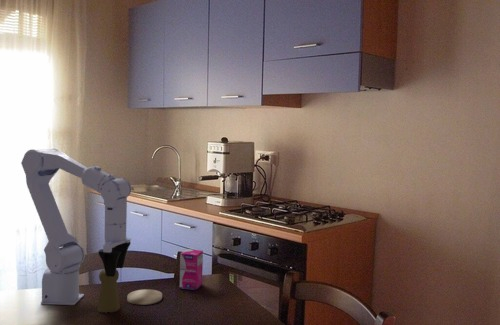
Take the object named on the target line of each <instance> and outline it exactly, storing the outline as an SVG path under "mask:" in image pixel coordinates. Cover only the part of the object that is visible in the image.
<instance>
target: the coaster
mask: <svg viewBox="0 0 500 325" xmlns="http://www.w3.org/2000/svg"><path fill="white" fill-rule="evenodd" d="M126 297H127V298H126V299H127V300H126V301H127V302H128V303H130V304H133V305H140V306H141V305H142V306H145V305H146V306H147V305H152V304H156V303H159V302H160V301H162V299H163V292H161V291H159V290H156V289H149V288H148V289H147V288H146V289H145V288H144V289H138V290H134V291H131V292H128V294H127V296H126Z"/></svg>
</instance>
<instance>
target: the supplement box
mask: <svg viewBox="0 0 500 325" xmlns="http://www.w3.org/2000/svg"><path fill="white" fill-rule="evenodd" d="M179 258H180V259H179V260H180V262H179V289H181V290H190V291H191V290H192V291H197V290H198V289H199V288H201V286H202V285H203V269H204V268H203V263H204V262H203V261H204V251H203V250H199V249H190V248H189V249H188V248H186V249H184V250H183V251H182V252H181V253H180V255H179Z"/></svg>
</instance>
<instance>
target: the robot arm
mask: <svg viewBox="0 0 500 325" xmlns="http://www.w3.org/2000/svg"><path fill="white" fill-rule="evenodd" d="M20 164H21V167H22V169H23V171H24V173H25V181H26V182H25V183H26V187H27V190H28V192H29V194H30V197H31V200H32V202H33V205H34V208H35V209H36V213H37V214H38V217H39V220H40V223H41V225H42V227H43V230H44V232H45V235H46V238H47V240H48V242H47V243H46V245H45V247H44V249H43V251H44V254H45V263H46V267H47V269H46V270H45V271H44V272H43V274H42V277H41V278H42V279H41V301H40V304H41V305H59V306H74V305H76V304H77V303H78V302H79V301H80V300H81V299H82V298H84V295H85V294H84V293H80V268H81V263H83V261H84V260H85V258H86V257H85V256H86V254H85V250H84V248H83V246H82V245H80V243H79V242H78V239H77V237H75V236H74V235H71V234H70V233H69V232H68V230H67V227H66V224H65V221H64V220H63V217H62V214H61V212H60V209H59V207H58V204H57V201H56V199H55V197H54V194H53V192H52V189H51V186H50V182H51V180H52V179H53V177H54V176H55V175H56V174H57V173H58V171H59V170H62V171H65V172H66V173H69V174H71V175H73V176H74V177H77V178H80V179H81V183H82V184H83V185H84V186H85V187H88V188H89V189H92V190H93V191H95V192H97V193H99V194H100V196H101V198H102V199H103V206H104V238H103V246H102V247H103V248H102V249H99V250H98V256H99V257H100V259H101V261H102V265H103V268H104V269H105V273H106V276H111V277H114V276H115V273H116V270H117V269H123V267H124V264H125V260H126V256H127V252H128V250H129V248H130V245H131V238H129V237H128V238H127V215H128V214H127V211H128V210H127V209H128V205H127V204H128V200H127V198H128V197H129V196H130V194H131V193H132V186H131V184H130V182H129V180H127V179H126V178H125V177H118V178H116V177H115V174H113V173H110V174H109V173H108V172H106V171H104V170H103V169H102V167H101V166H99V165H95V166H94V165H93V166H89V167H87V166H86V165H84V164H82V163H80V162H79V161H78V160H75V159H74V158H72V157H71V156H69V155H67V154H66V153H65V151H61V150H59V149H57V148H51V149H50V148H49V149H48V148H47V149H33V148H32V149H29V150H27V151H26V152H25V153H24V156H23V158H22V160H21V163H20Z"/></svg>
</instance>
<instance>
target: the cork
mask: <svg viewBox="0 0 500 325" xmlns="http://www.w3.org/2000/svg"><path fill="white" fill-rule="evenodd" d="M119 276H120V274H119V270H118V269H116V273H115V276H114V277H111V276H106V273H105V268H104V269H102V270H100V272H99V275H98V278H99V282H100V288H99V289H100V290H99V294H98V295H99V296H98V302H97V308H96V309H97V312H99V313H103V312H105V313H106V314H107V312H110V313H115V312H117V311H119V310H120V309H121V306H120V296H119V289H118V282H117V281H118V280H119ZM105 313H104V314H105Z"/></svg>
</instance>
